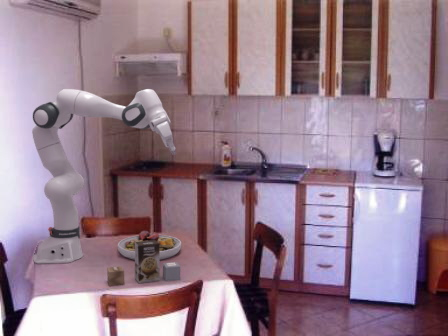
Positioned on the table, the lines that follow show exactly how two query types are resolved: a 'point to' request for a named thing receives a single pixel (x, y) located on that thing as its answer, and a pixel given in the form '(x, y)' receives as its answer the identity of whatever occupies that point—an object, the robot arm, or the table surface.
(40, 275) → the table surface
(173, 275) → the grey block
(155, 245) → the coffee box
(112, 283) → the brown cube
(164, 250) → the bowl
